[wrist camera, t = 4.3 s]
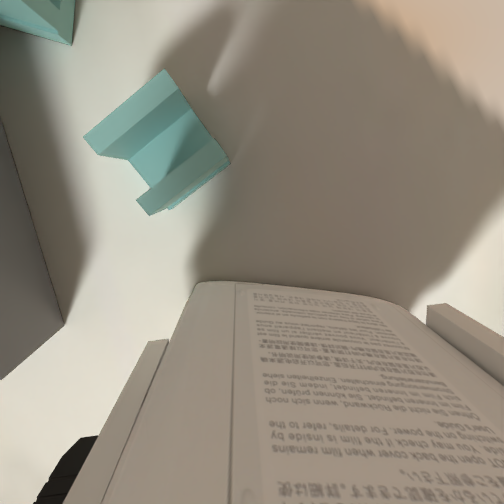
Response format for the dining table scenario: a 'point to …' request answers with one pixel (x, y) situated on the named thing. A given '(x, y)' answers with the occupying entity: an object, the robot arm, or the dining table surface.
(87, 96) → the dining table surface
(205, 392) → the photo printer
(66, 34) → the clip
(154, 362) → the robot arm
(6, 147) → the grey square tray
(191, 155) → the clip
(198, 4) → the dining table surface
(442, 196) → the dining table surface
